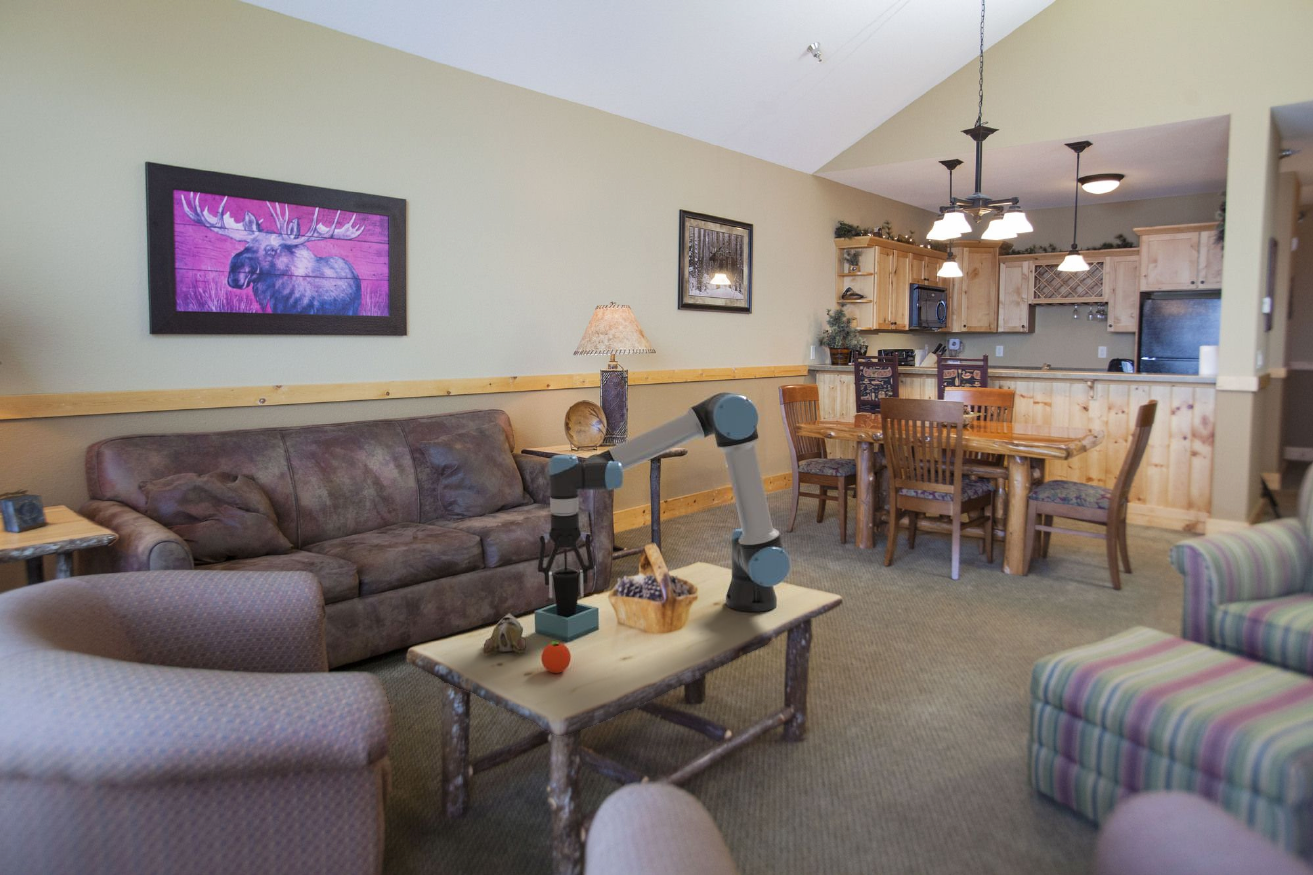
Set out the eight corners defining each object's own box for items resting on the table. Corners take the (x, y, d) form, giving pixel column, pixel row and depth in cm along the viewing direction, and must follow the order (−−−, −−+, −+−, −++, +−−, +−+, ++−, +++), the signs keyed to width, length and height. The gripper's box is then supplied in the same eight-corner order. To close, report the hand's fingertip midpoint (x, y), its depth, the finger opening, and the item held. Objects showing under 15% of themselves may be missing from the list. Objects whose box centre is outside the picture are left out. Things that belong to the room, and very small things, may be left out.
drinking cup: (552, 626, 215) (551, 553, 213) (552, 617, 222) (551, 546, 220) (581, 625, 216) (580, 552, 214) (580, 616, 224) (579, 545, 221)
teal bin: (598, 629, 221) (598, 607, 220) (568, 642, 211) (567, 619, 210) (566, 620, 228) (565, 600, 227) (535, 632, 218) (534, 611, 218)
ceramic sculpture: (529, 606, 213) (523, 628, 198) (530, 637, 214) (525, 662, 200) (488, 608, 212) (480, 630, 198) (490, 639, 214) (481, 664, 199)
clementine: (537, 667, 194) (536, 638, 193) (564, 662, 197) (564, 634, 196) (546, 679, 187) (545, 649, 186) (575, 674, 190) (574, 645, 189)
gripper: (601, 508, 221) (603, 589, 224) (526, 511, 218) (528, 593, 221) (603, 514, 214) (605, 597, 216) (525, 517, 211) (527, 601, 213)
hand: (566, 595), depth 219 cm, fingers closed on drinking cup, 8 cm apart
